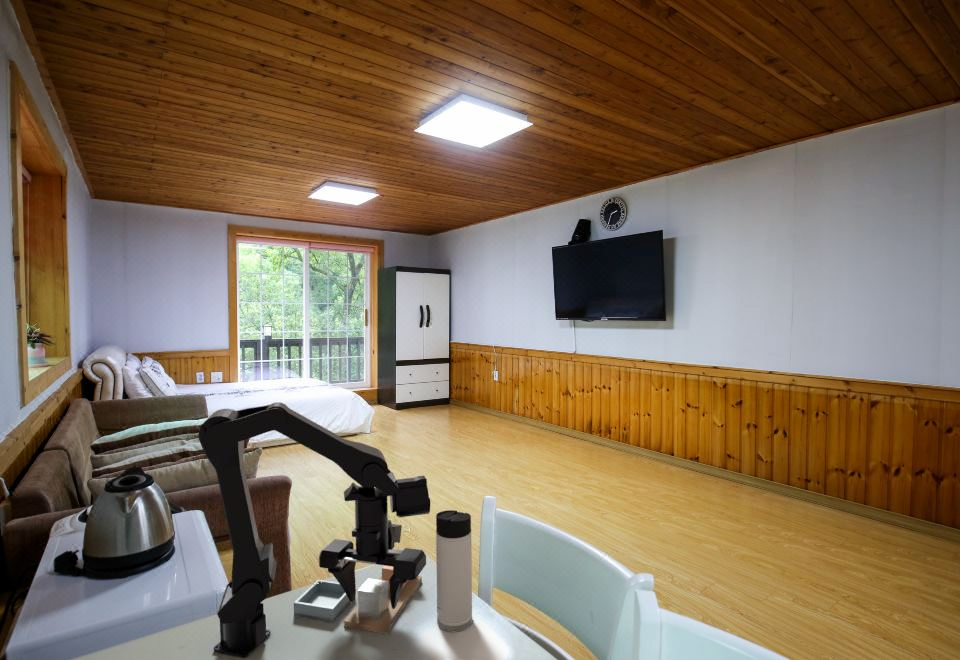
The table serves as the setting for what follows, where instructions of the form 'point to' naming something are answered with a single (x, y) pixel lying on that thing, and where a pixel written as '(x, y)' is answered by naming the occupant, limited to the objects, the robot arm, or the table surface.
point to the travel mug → (454, 570)
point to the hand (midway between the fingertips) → (373, 604)
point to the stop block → (388, 574)
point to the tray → (322, 601)
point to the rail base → (390, 613)
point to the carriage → (373, 599)
